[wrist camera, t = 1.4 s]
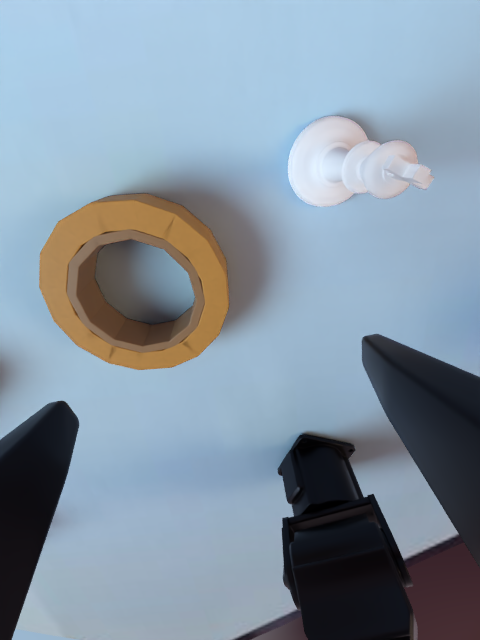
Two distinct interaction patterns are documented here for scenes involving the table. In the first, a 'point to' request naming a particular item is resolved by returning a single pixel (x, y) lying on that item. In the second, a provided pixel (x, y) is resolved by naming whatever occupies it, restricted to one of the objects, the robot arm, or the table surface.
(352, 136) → the chess piece
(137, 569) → the table surface
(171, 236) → the tape roll
